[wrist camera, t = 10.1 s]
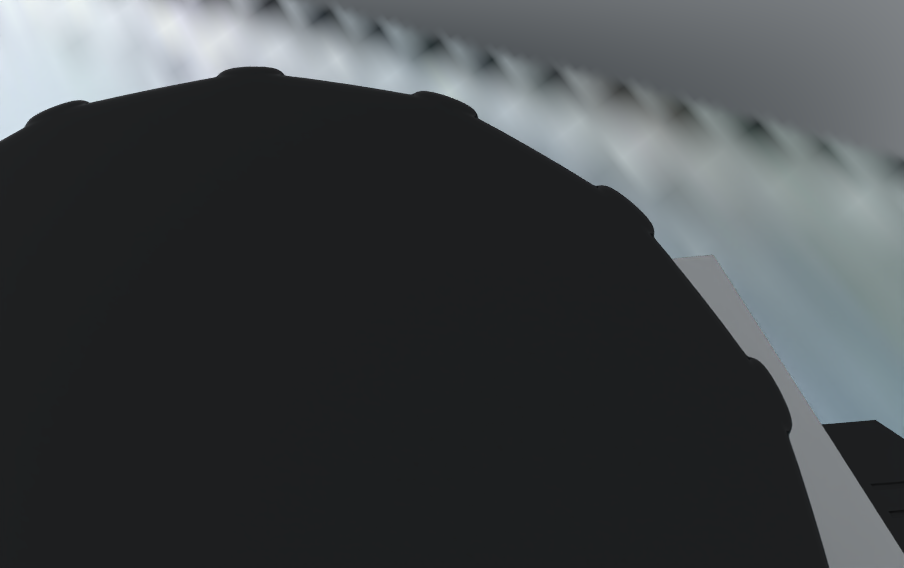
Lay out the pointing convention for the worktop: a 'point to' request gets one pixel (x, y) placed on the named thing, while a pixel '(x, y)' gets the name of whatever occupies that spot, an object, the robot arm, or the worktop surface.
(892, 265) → the worktop surface
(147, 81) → the worktop surface
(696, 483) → the ink bottle
